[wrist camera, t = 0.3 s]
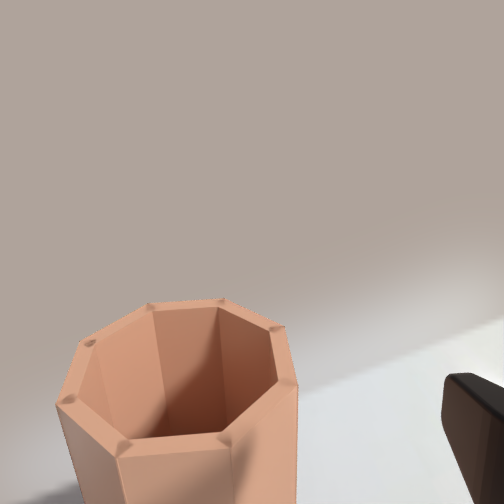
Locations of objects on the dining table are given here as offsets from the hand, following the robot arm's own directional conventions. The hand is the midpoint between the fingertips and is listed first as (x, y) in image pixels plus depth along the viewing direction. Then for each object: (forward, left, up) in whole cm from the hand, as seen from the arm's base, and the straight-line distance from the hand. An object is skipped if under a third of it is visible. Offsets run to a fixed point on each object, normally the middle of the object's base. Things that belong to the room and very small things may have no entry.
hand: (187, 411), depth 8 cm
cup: (+5, +1, -16) cm, 17 cm away
